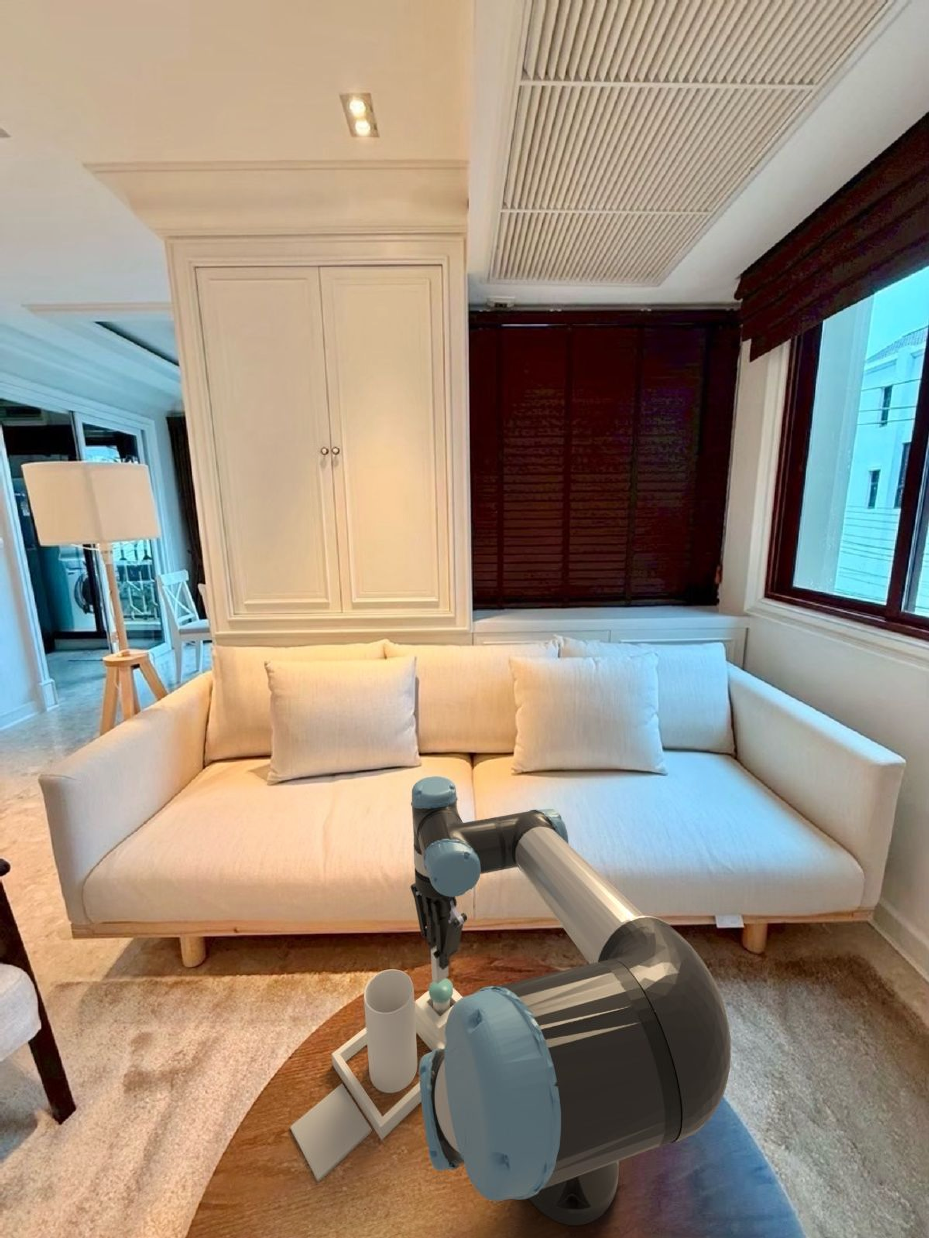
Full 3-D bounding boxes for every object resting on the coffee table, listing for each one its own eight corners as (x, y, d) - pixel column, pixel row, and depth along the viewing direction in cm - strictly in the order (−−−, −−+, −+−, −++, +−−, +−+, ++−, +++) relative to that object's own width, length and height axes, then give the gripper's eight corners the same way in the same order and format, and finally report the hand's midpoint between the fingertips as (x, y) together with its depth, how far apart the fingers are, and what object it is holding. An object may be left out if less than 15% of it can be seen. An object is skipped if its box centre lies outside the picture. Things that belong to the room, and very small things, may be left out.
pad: (371, 1131, 81) (371, 1128, 81) (318, 1182, 75) (317, 1179, 75) (342, 1085, 87) (341, 1083, 87) (290, 1128, 81) (290, 1126, 81)
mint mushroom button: (458, 1009, 96) (457, 988, 95) (440, 1025, 93) (439, 1003, 92) (443, 994, 99) (442, 973, 98) (424, 1009, 97) (424, 987, 96)
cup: (421, 1044, 93) (417, 970, 90) (412, 1095, 85) (408, 1015, 82) (376, 1041, 94) (371, 967, 91) (363, 1090, 86) (357, 1011, 83)
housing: (483, 1040, 94) (483, 1017, 93) (381, 1139, 80) (379, 1114, 78) (431, 986, 105) (430, 965, 104) (332, 1065, 90) (330, 1041, 89)
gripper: (478, 873, 88) (479, 987, 93) (429, 837, 97) (433, 943, 102) (444, 895, 83) (448, 1015, 88) (396, 856, 92) (402, 966, 97)
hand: (440, 976), depth 95 cm, fingers closed
